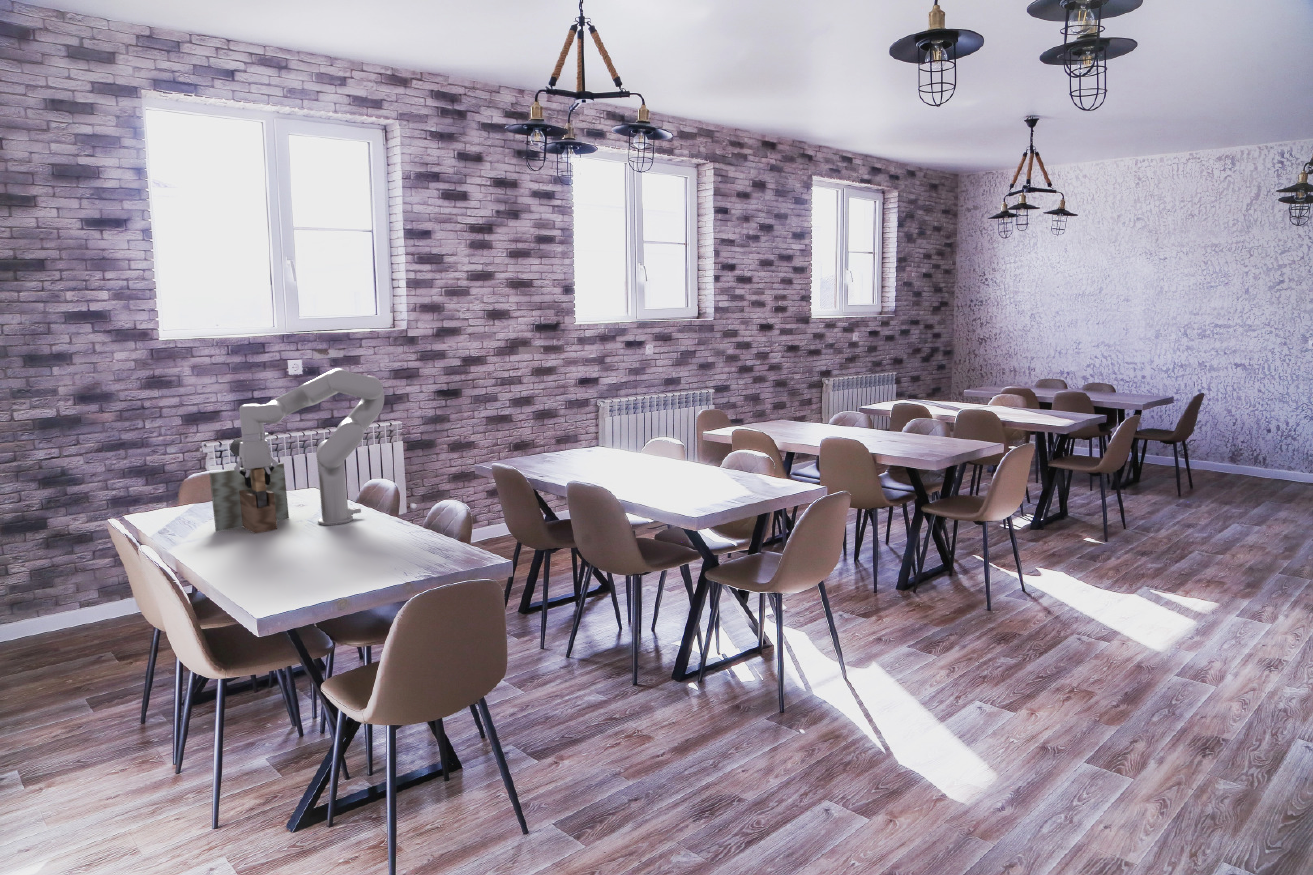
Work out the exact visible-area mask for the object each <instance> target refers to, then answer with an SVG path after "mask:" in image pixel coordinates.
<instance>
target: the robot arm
mask: <svg viewBox="0 0 1313 875" xmlns="http://www.w3.org/2000/svg"><path fill="white" fill-rule="evenodd" d="M338 393H341V394H343V395H347V396H351V397H356V398H360V400H359V402H358V403H357V404H356V406H355V407H354V408H353V410H352V411H350V412H349V414H348V415H347V416H346V417H345V418H344V419H343V420H342V421H340V423H338V426H337V427H336V430H335V431H334V432H333V433H332V434H331V435H330V436H329V438H328V439H325V440H322V441H321V442H320V443H319V444H318V446H317V447H316V452H315V453H316V454H315V455H316V461H317V462H316V463H317V472H318V473H317V474H318V486H319V494H320V495H319V497H320V506H321V517H320V518H319V519H317V524H319V525H323V526H336V525H343V524H347V523H349V522H352V521H353V520H354V516H353V515H354V514H355V515H356V514H360V513H362V509H361V507H356V508H355V507H353V508H351V507H349V506H348V505H349V504H348V492H347V480H346V468H345V467H346V466H345V460H346V459H347V458H348V457H349V456H350V455H351V454H352V453H353V452H354V451H355V450H356V448H358V446H359V445H360V444H361V442H362V441H363V439H364V436H365V432H366V431H367V429H369V427H371V425H372V424H373V423H374V421H375V420H376V419H377V418H378V416H379V415H380V413H381V412H382V410H383V409H384V408H383V407H384V404H385V391H384V385H383V383H382V382H381V380H380V379H379V378H378V377H376V376H374V375H363V374H360V373H355V372H352V371H348V370H346V369H345V368H342V367H337V368H333V369H332V370H331V369H330V370H329V371H327V372H325V373H323V374H321V375H319V376H318V377H316V378H314V379H312V380H309V381H307V382H305V383H302V384H301V385H299V386H298V387H296V388H294V389H292V390H291V391H288V392H287V393H284V394H282V395H281V396H278V397H276V398H275V399H272V400H270V401H268V402H267V403H266V404H259V403H246V404H242V405H240V407H239V409H238V410H239V411H238V412H239V421H240V430H241V439H242V442H240V448H239V456H238V459H239V461H238V462H237V464H236V465H235V466H234V467H233V469H234V470H236V471H237V472H239V473H240V474H241V475H243V476H244V477H245V485H246V486H247V487H248V488H251V478H250V477H249V474H250V470H251V469H257V468H263V469H264V471H265V474H264V476H265V484H266V485H270V484H269V482H271V481H270V474H271V472H272V471H273V469H274V468H275V467H276V466H277V465H278V463H279V462H278V461H277V460H276V459H274V458H273V457H272V455H271V451H270V446H269V442H268V440H267V439H266V438H267V437H269V435H270V434H269V433H268V432H265V425H264V424H278V423H280V422H282V420H283V419H284V418H285V417H287V416H289V415H290V414H293V413H295V412H297V411H300V410H302V409H305V408H307V407H311V406H314V405H317V404H319V403H321V402H323V401H326V400H327V399H329V398H331V397H332V396H335V395H336V394H338ZM271 464H272V465H271ZM270 465H271V466H270ZM269 466H270V467H269ZM240 468H244V471H242V470H241V469H240Z"/></svg>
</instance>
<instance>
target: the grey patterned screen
mask: <svg viewBox="0 0 1313 875" xmlns="http://www.w3.org/2000/svg"><path fill="white" fill-rule="evenodd" d="M271 465H272V464H271ZM271 465H270V466H271ZM270 466H269V467H270ZM240 469H241V470H242V471H244V468H241V467H240ZM262 469H263V468H262ZM264 474H265V471H264ZM285 474H286V472H285V463H284V462H278V465H277V466H276V467H275V468H274V469H273V471H272V472H271V474H270V481H271V482H269V484H270V485H266V484H265V486H266V496H267V506H265V507H259V508H258V507H257V504H256V495H254V494H253V492H252V482H251V488H248V487H247V486H246V485H245V477H244V476H243V475H241V474H240V473H239V472H237V471H236V470H234V468H233V469H232V468H231V469H226V470H220V471H219V470H218V471H211V472H209V483H210V491H211V492H210V493H211V502H212V510H213V519H214V521H213V522H214V527H215V528H214V529H215V531H216V532H222V531H226V530H227V531H228V530H232V529H233V530H234V529H238V528H244V529H246V530H248V531H250V532H251V531H252V532H251V533H253V534H258V533H264V532H269V531H274V530H278V522H277V521H282V520H283V519H284V520H288V519H287V518H290V514H289V505H288V504H289V503H288V494H287V485H286V482H287V481H286V475H285ZM249 477H250V478H251V472H250V474H249Z"/></svg>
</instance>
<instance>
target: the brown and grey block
mask: <svg viewBox="0 0 1313 875" xmlns="http://www.w3.org/2000/svg"><path fill="white" fill-rule="evenodd" d="M250 472H251V482H252V492H253V494H254V495H256V504H257V507H258V508H259V507H265V506H267V496H266V486H265V476H264V469H262V468H257V469H251V470H250Z"/></svg>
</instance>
